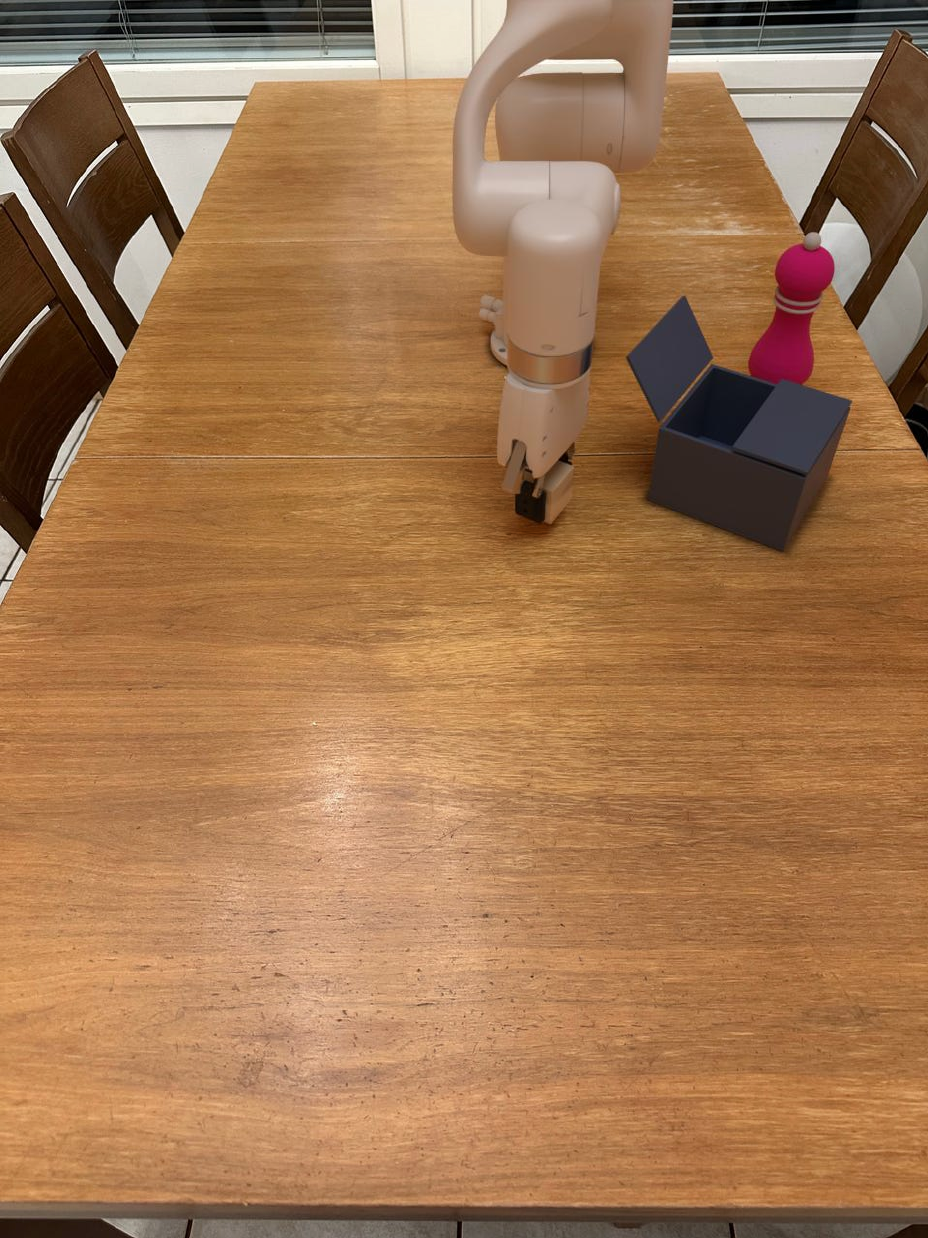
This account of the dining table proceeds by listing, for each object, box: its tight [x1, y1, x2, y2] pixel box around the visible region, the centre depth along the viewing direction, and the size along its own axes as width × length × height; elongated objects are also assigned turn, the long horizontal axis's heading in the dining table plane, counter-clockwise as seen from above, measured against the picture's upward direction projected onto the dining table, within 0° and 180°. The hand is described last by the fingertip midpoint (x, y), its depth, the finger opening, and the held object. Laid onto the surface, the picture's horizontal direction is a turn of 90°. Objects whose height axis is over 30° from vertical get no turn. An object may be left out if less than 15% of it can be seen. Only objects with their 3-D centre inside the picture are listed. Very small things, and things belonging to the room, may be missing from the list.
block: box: [512, 460, 575, 525], centre depth 95 cm, size 4×4×4 cm
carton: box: [647, 363, 853, 552], centre depth 98 cm, size 15×13×10 cm
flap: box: [625, 295, 714, 423], centre depth 95 cm, size 7×13×1 cm
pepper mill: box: [747, 231, 836, 385], centre depth 105 cm, size 7×7×20 cm
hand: (542, 501), depth 97 cm, fingers closed on block, 4 cm apart
